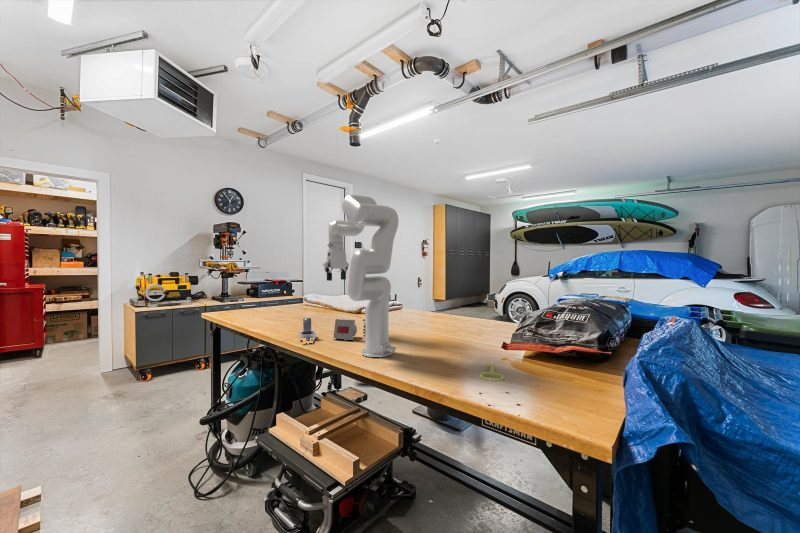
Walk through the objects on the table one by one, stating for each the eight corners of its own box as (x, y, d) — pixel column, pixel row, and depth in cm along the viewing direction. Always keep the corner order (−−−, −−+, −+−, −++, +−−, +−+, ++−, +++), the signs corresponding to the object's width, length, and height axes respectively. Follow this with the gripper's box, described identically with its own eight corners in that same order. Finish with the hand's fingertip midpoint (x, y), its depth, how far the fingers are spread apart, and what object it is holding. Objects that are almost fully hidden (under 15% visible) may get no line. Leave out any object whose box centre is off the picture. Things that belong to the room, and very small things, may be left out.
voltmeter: (334, 343, 144) (333, 322, 144) (332, 337, 155) (332, 317, 155) (389, 339, 151) (389, 318, 151) (384, 333, 162) (384, 315, 162)
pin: (313, 338, 153) (312, 318, 153) (306, 340, 150) (306, 319, 150) (308, 337, 155) (307, 317, 155) (301, 339, 152) (301, 318, 152)
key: (493, 368, 110) (493, 362, 109) (505, 382, 97) (505, 375, 97) (472, 369, 109) (472, 362, 109) (482, 382, 97) (482, 375, 97)
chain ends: (316, 343, 144) (316, 337, 144) (299, 345, 141) (299, 338, 141) (314, 332, 167) (314, 326, 167) (299, 333, 165) (299, 327, 165)
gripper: (328, 245, 151) (328, 281, 151) (353, 247, 165) (353, 279, 165) (318, 246, 155) (318, 280, 155) (343, 247, 169) (343, 279, 169)
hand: (336, 280), depth 160 cm, fingers open, 9 cm apart
